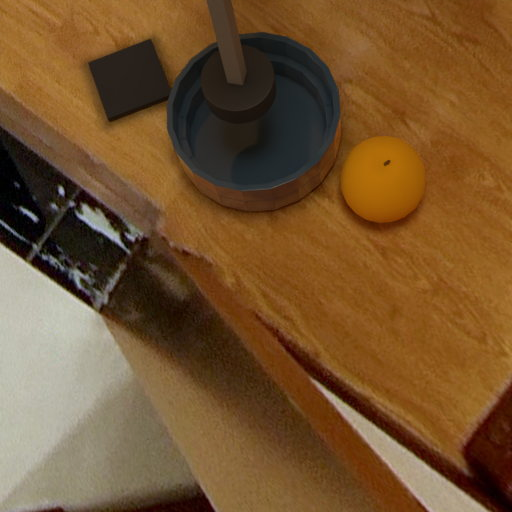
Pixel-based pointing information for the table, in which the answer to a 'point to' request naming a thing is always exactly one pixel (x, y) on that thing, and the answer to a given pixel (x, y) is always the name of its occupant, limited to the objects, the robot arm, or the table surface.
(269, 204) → the bowl
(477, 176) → the table surface
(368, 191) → the orange
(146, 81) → the pad
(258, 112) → the square post on disc
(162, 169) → the table surface
